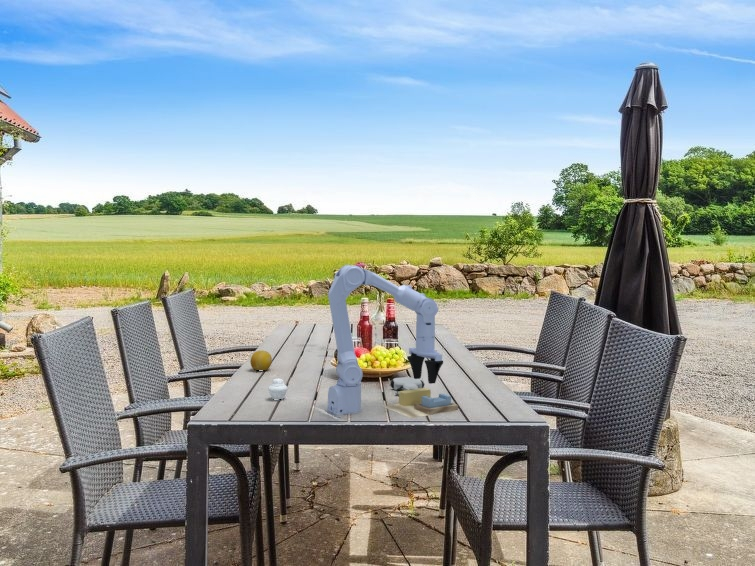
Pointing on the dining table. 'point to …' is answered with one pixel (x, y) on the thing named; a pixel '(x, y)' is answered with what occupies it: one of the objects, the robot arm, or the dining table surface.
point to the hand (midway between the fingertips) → (424, 380)
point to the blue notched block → (436, 401)
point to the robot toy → (406, 384)
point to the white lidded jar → (277, 389)
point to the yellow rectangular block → (413, 396)
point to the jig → (420, 409)
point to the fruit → (261, 360)
